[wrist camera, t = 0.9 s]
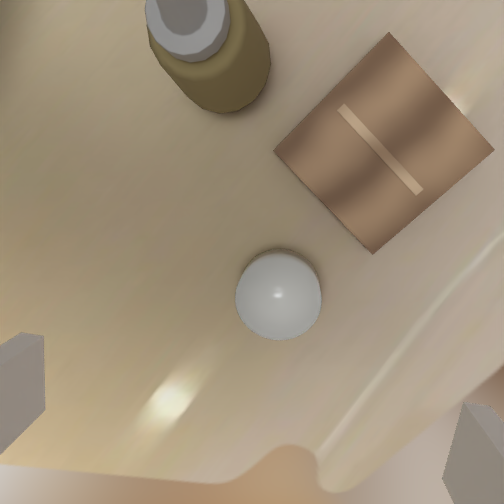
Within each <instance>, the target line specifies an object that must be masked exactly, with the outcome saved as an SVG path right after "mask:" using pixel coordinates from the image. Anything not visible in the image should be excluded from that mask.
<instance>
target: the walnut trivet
mask: <svg viewBox="0 0 504 504" xmlns="http://www.w3.org/2000/svg"><path fill="white" fill-rule="evenodd" d="M494 150H495V149H494V148H493V147H492V146H491V145H490V144H489V143H488V142H487V141H486V139H485V138H484V137H483V136H482V135H481V134H480V133H479V132H478V131H477V129H476V128H475V127H474V126H473V125H472V124H471V123H470V122H469V121H468V119H467V118H466V117H465V116H464V115H463V114H462V113H461V112H460V110H459V109H458V108H457V107H456V106H455V105H454V104H453V103H452V102H451V100H450V99H449V98H448V97H447V96H446V95H445V94H444V93H443V92H442V90H441V89H440V88H439V87H438V86H437V85H436V84H435V83H434V81H433V80H432V79H431V78H430V77H429V76H428V75H427V74H426V73H425V71H424V70H423V69H422V68H421V67H420V66H419V65H418V64H417V63H416V61H415V60H414V59H413V58H412V57H411V56H410V55H409V54H408V53H407V51H406V50H405V49H404V48H403V47H402V46H401V45H400V44H399V42H398V41H397V40H396V39H395V38H394V37H393V36H392V35H391V34H390V32H388V33H387V34H386V35H385V36H384V37H383V39H382V40H381V41H380V42H379V43H378V44H377V45H376V46H375V47H374V48H373V49H372V50H371V51H370V52H369V53H368V54H367V55H366V56H365V57H364V58H363V59H362V60H361V61H360V62H359V63H358V64H357V65H356V66H355V67H354V68H353V69H352V70H351V71H350V72H349V73H348V74H347V75H346V76H345V77H344V78H343V79H342V81H341V82H340V83H339V84H338V85H337V86H336V87H335V88H334V89H333V90H332V91H331V92H330V93H329V94H328V95H327V96H326V97H325V98H324V99H323V100H322V101H321V102H320V103H319V104H318V105H317V106H316V107H315V108H314V109H313V110H312V111H311V112H310V113H309V114H308V115H307V116H306V117H305V118H304V119H303V120H302V121H301V122H300V124H299V125H298V126H297V127H296V128H295V129H294V130H293V131H292V132H291V133H290V134H289V135H288V136H287V137H286V138H285V139H284V140H283V141H282V142H281V143H280V144H279V145H278V146H277V147H276V148H275V149H274V150H273V151H274V152H275V153H276V154H277V155H278V156H279V157H280V158H281V159H282V160H283V161H284V163H285V164H286V165H287V166H288V167H289V168H290V169H291V170H292V171H293V172H294V173H295V174H296V175H297V176H298V177H299V178H300V179H301V180H302V181H303V182H304V183H305V185H306V186H307V187H308V188H309V189H310V190H311V191H312V192H313V193H314V194H315V195H316V196H317V197H318V198H319V199H320V200H321V201H322V202H323V203H324V204H325V205H326V207H327V208H328V209H329V210H330V211H331V212H332V213H333V214H334V215H335V216H336V217H337V218H338V219H339V220H340V221H341V222H342V223H343V224H344V225H345V226H346V227H347V228H348V230H349V231H350V232H351V233H352V234H353V235H354V236H355V237H356V238H357V239H358V240H359V241H360V242H361V243H362V244H363V245H364V246H365V247H366V248H367V249H368V250H369V252H370V253H371V254H372V255H373V254H374V253H375V252H376V251H377V250H379V249H380V248H381V247H382V246H383V245H384V244H386V243H387V242H388V241H389V240H390V239H391V238H393V237H394V236H395V235H396V234H397V233H398V232H400V231H401V230H402V229H403V228H404V227H405V226H407V225H408V224H409V223H410V222H411V221H412V220H414V219H415V218H416V217H417V216H418V215H419V214H421V213H422V212H423V211H424V210H425V209H426V208H428V207H429V206H430V205H431V204H432V203H433V202H435V201H436V200H437V199H438V198H439V197H440V196H442V195H443V194H444V193H445V192H446V191H447V190H449V189H450V188H451V187H452V186H453V185H454V184H456V183H457V182H458V181H459V180H460V179H461V178H463V177H464V176H465V175H466V174H467V173H468V172H470V171H471V170H472V169H473V168H474V167H475V166H477V165H478V164H479V163H480V162H481V161H482V160H484V159H485V158H486V157H487V156H488V155H489V154H491V153H492V152H493V151H494Z"/></svg>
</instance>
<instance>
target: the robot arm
mask: <svg viewBox="0 0 504 504" xmlns="http://www.w3.org/2000/svg"><path fill="white" fill-rule="evenodd" d="M44 411H45V374H44V336H41V335H34V334H28V333H22V332H21V333H19V334H18V335H16V336H15V337H13V338H11V339H10V340H8V341H7V342H5V343H3V344H2V345H0V455H1V454H2V453H3V452H4V451H5V450H6V449H7V448H8V447H9V446H10V445H11V444H12V443H13V442H14V441H15V440H16V439H17V438H18V437H19V436H20V435H21V434H22V433H23V432H24V431H25V430H26V429H27V428H28V427H29V426H30V425H31V424H32V423H33V422H34V421H35V420H36V419H37V418H38V417H39V416H40V415H41V414H42V413H43V412H44ZM442 479H443V481H444V484H445V486H446V488H447V490H448V492H449V494H450V496H451V498H452V500H453V503H454V504H504V422H503V421H502V420H501V419H500V417H499V416H498V415H497V414H496V412H495V411H494V410H493V409H492V408H491V406H487V405H480V404H473V403H467V402H463V405H462V409H461V413H460V416H459V420H458V423H457V427H456V430H455V434H454V438H453V441H452V445H451V448H450V452H449V455H448V459H447V463H446V466H445V470H444V473H443V477H442Z"/></svg>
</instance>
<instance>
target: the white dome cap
mask: <svg viewBox="0 0 504 504" xmlns="http://www.w3.org/2000/svg"><path fill="white" fill-rule="evenodd" d="M235 303H236V308H237V311H238V314H239V316H240V318H241V320H242V321H243V322H244V324H245V325H246V326H247V327H248V328H249V329H250V330H251V331H253V332H254V333H256V334H258V335H260V336H262V337H264V338H267V339H272V340H287V339H292V338H295V337H297V336H299V335H301V334H303V333H305V332H306V331H307V330H308V329H309V328H310V327H311V326H312V325H313V324H314V323H315V321H316V319H317V318H318V315H319V313H320V309H321V303H322V298H321V291H320V285H319V280H318V276H317V273H316V271H315V269H314V268H313V266H312V265H311V263H310V262H309V261H308V260H307V259H306V258H304V257H303V256H302V255H300V254H298V253H296V252H293V251H291V250H286V249H273V250H268V251H265V252H263V253H261V254H259V255H258V256H256V257H255V258H254V259H252V260H251V262H250V263H249V264H248V265H247V267H246V269H245V271H244V273H243V275H242V277H241V279H240V281H239V283H238V285H237V288H236V293H235Z"/></svg>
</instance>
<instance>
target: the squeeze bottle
mask: <svg viewBox="0 0 504 504" xmlns="http://www.w3.org/2000/svg"><path fill="white" fill-rule="evenodd" d="M145 14H146V20H147V30H148V36H149V42H150V47H151V49H152V51H153V52H154V54H155V56H156V58H157V60H158V61H159V63H160V65H161V66H162V67H163V68H164V70H165V71H166V72H167V73H168V74H169V76H170V77H171V78H172V79H173V80H174V81H175V83H176V84H177V85H178V86H179V87H180V88H181V90H182V91H183V92H184V93H185V94H186V95H187V97H189V98H190V99H191V100H192V101H193V102H195V103H196V104H197V105H198V106H200V107H201V108H202V109H206V110H209V111H213V112H216V113H225V112H232V111H238V110H240V109H241V108H243V107H244V106H246V105H248V104H249V103H251V102H252V101H254V100H255V98H256V97H257V95H258V94H259V93H260V91H261V90H262V89H263V87H264V86H265V84H266V81H267V77H268V73H269V69H270V66H271V62H270V52H269V43H268V41H267V39H266V37H265V35H264V33H263V31H262V30H261V28H260V26H259V24H258V22H257V21H256V19H255V17H254V16H253V14H252V12H251V11H250V9H249V7H248V6H247V4H246V3H245V1H244V0H146V5H145Z"/></svg>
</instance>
